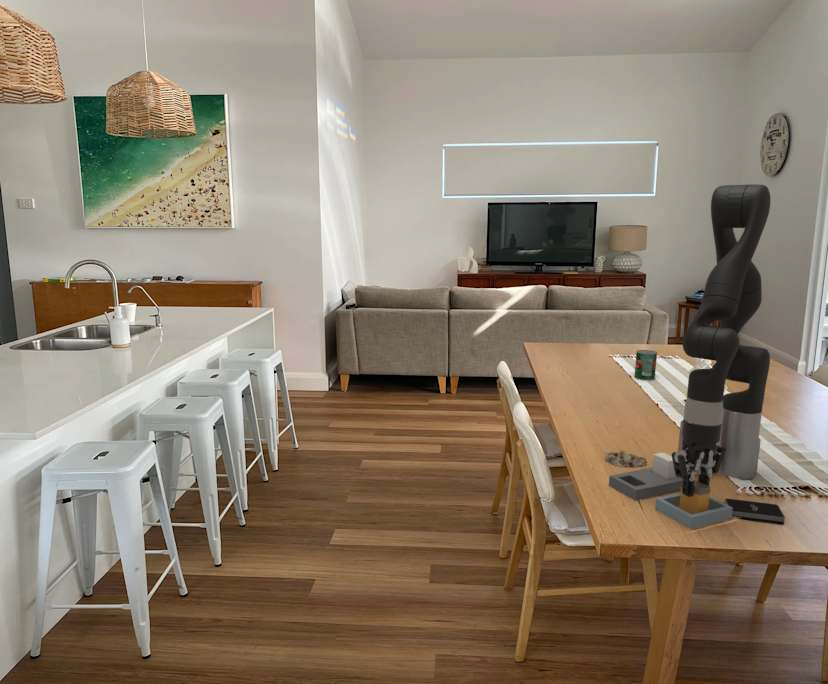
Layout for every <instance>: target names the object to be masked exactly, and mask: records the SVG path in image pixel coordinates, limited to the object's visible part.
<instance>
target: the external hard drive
mask: <svg viewBox="0 0 828 684" xmlns="http://www.w3.org/2000/svg"><path fill="white" fill-rule="evenodd" d="M723 503H724V504H726V505H729V506H731V507H733V510H732V517H735V518H736V519H737V520H744V521H750V522H752V521H753V522H760V523H766V524H767V523H768V524H772V525H773V524H775V525H784V524H785V521H786V516H785V515H784V514H785V513H783V511H782V509H781V508H780V506H779V505H778V504H776V503H769V502H767V503H766V502H759V501H752V500H743V499H735V498H725V499H724V502H723Z"/></svg>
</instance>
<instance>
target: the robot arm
mask: <svg viewBox="0 0 828 684" xmlns="http://www.w3.org/2000/svg"><path fill="white" fill-rule="evenodd" d="M770 209H771V193H770V190H769V188H768V186H766V184H759V183H758V184H757V183H756V184H755V183H754V184H753V183H752V184H726V185H725V184H724V185H719V186H717V187H716V188H715V189H714V190H713V192H712V195H711V199H710V216H711V217H710V218H711V224H712V225H711V226H712V233H713V240H714V247H715V248H714V249H715V255H716V265H715V266H714V267H713V268H712V269H711V271H710V273H709V275H708V277H707V279H706V283H705V287H704V291H703V295H702V299H701V303H700V304H699V305H700V306H699V308H698V309H697V312H696V314H695V315H694V317H693V319H692V321H691V322H690V324H689V325H688V327H687V329H686V331H685V333H684V334H683V338H682V348H683V351H684V353H685V354H686V356H688V357H690V358H694V359H702V360H708V361H715V364H714V366H713V367H711V368H698V369H693V370H692V371H691V372H690V373H689V376H688V381H687V382H688V384H687V391H686V392H687V393H686V399H685V404H684V410H683V419H682V421H683V428H682V437H683V439H684V441H685V443H684V446H683V448H682V451H680V452H678V451H673V452H672V453H671V456H672V460H673V465H674V470H675V475H676V476H678V477H680V478H682V479H683V482H682V493H683V494H684V495H686V496H688V497H692V496H693V488H694V481H693V480H694V479H695V476H696V475H695V474H696V472H697V471H699V473H700V474H699V475H698V479H697V481H699V482H701V483H703V484H705V485H707V486H710V481H711V478H712V477H713V474H720V475H723V476H725V477H730V478H733V479H738V480H750V479H753V478H754V477H755V475H757V473H758V472H757V471H758V466H759V456H760V449H761V440H762V439H761V438H760V430H761V423H762V415H763V414H762V413H763V407H764V399H765V395H766V394H765V393H766V385H767V380H768V375H769V371H770V365H771V364H770V363H771V355H770V352H769V350H768V349H767V348H763V347H760V346H752V345H751V346H750V345H743V344H740V338H739V333H741V332H740V331H741V330H743V327H744V326H745V325H746V324H747V323H748V322H749V321H750V320H751V318H752V317H753V316H754V315H755V313H756V312H757V311H758V310H759V308H760V306H761V305H762V304H761V303H762V295H763V294H762V276H761V274H760V271H759V269H758V268H757V266H756V265H755V264H754V262H753V261H752V259H753V257H754V254H755V252H756V251H757V247H758V245H759V244H760V243H759V242H760V241H761V240H760V239H761V237H762V234H763V231H764V228H765V227H766V224H767V221H768V218H769V214H770ZM734 229H744V230H743V231H742V234H741V236H740V237H739V239H738V241H737V238H736V234H735V232H734ZM716 321H719V326H711V324H712V323H714V322H716ZM727 380H728V381H732V382H737V383H738V382H739V383H745V384H748V388H746V389H745V390H741V391H737V392H730V393H725V386H726V381H727ZM713 461H715V462H714V467H713ZM689 463H691V464H693V465H694V466H692V465H690V464H689ZM689 469H690V474H688V470H689Z"/></svg>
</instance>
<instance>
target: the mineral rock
mask: <svg viewBox="0 0 828 684" xmlns="http://www.w3.org/2000/svg"><path fill="white" fill-rule="evenodd" d="M604 458H605V461H606V463H608V464H610V465H612V466H615V467H618V468H625V469H626V468H627V469H628V468H634V469H635V468H643V467H646V466H647V464H648V461H647V460H646V458H645V457H642V456H639V455H638V456H637V455H636V454H632V453H627V451H625V450H623V449H621V450H619V452H614V451H611V452H605V457H604Z"/></svg>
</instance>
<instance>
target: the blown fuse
mask: <svg viewBox="0 0 828 684" xmlns="http://www.w3.org/2000/svg"><path fill="white" fill-rule="evenodd" d="M693 481H694V488H693V496H692V497H688V496H686V495H684V494H683V493H682V484H681V491H680V493H681V494H680V504H679V508H680V509H682V510H684V511H686V512H687V513H689V514H691V515H692V514H696V513H701V512H705V511H708V505H709V496H710V497H711V486H710V485H709V486H707V485H705V484H703V483H701V482H699V481H698V479H695V478H694V480H693ZM682 482H683V480H682Z"/></svg>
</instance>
